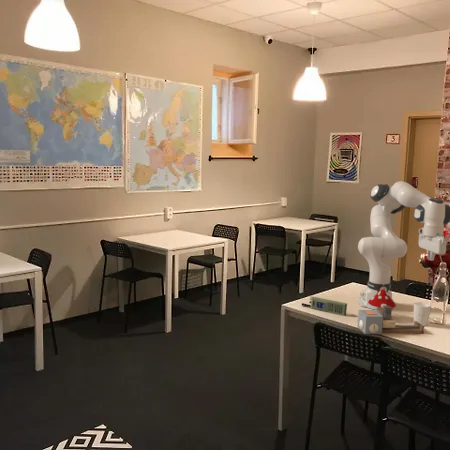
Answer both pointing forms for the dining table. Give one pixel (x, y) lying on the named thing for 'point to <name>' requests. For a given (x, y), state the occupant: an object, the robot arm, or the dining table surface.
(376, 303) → the decorative mushroom
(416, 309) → the white cup
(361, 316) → the gauge cabinet
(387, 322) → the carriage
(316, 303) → the handheld radio
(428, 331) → the dining table surface
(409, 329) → the rail
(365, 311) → the button
